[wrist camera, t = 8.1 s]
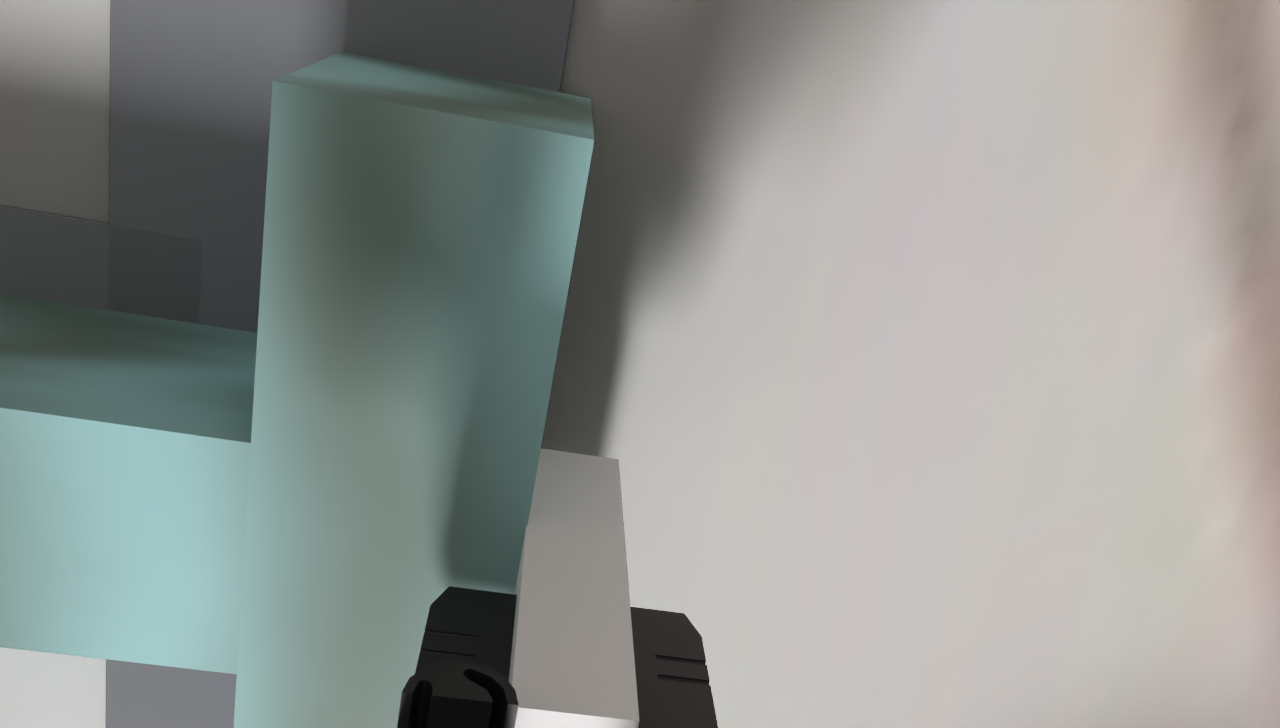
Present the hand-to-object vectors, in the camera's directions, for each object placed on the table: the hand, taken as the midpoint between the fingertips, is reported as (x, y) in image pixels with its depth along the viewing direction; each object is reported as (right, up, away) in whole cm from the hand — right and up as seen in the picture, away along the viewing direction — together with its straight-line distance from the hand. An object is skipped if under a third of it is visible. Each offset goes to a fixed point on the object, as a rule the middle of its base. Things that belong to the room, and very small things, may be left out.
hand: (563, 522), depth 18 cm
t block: (-8, +2, 0) cm, 8 cm away
